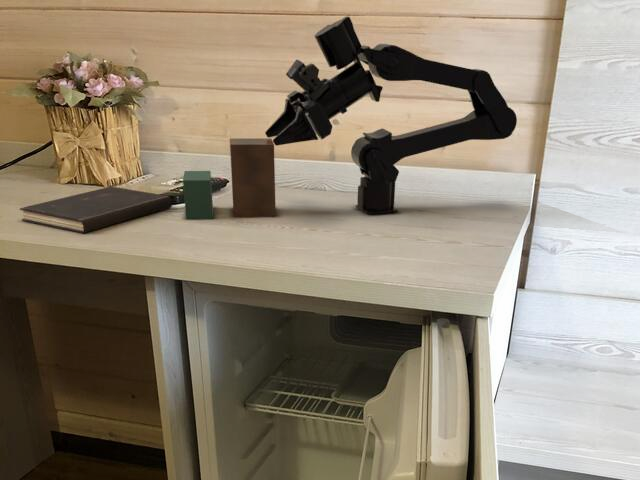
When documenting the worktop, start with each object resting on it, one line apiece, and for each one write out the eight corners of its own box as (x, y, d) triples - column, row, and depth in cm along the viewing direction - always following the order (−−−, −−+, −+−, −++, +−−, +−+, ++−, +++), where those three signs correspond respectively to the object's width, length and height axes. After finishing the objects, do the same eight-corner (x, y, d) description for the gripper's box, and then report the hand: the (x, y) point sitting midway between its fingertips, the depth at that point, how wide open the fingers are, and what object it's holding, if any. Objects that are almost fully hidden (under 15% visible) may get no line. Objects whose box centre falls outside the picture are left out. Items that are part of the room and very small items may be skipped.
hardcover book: (22, 220, 135) (19, 208, 134) (112, 197, 152) (111, 186, 151) (84, 234, 128) (82, 220, 127) (172, 208, 146) (171, 196, 144)
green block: (212, 207, 147) (210, 170, 143) (212, 218, 139) (210, 180, 136) (187, 207, 146) (184, 170, 143) (186, 219, 139) (182, 180, 135)
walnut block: (273, 207, 148) (271, 138, 141) (275, 216, 142) (274, 144, 135) (233, 208, 147) (229, 138, 140) (234, 217, 141) (230, 144, 134)
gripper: (309, 45, 138) (240, 92, 139) (332, 51, 123) (253, 103, 124) (337, 101, 144) (270, 145, 145) (362, 114, 129) (287, 163, 130)
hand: (270, 138), depth 136 cm, fingers open, 9 cm apart
